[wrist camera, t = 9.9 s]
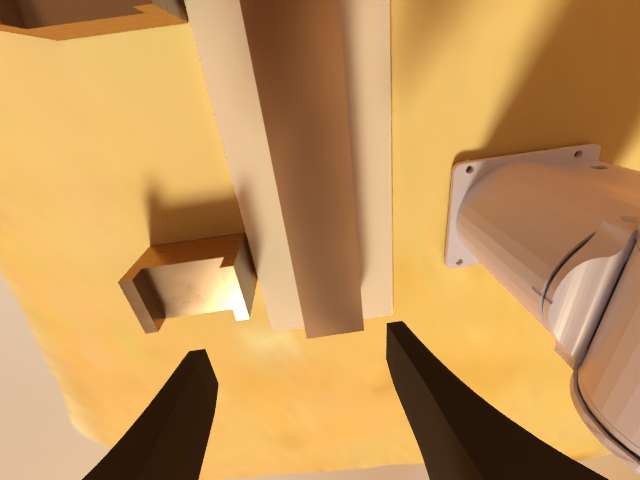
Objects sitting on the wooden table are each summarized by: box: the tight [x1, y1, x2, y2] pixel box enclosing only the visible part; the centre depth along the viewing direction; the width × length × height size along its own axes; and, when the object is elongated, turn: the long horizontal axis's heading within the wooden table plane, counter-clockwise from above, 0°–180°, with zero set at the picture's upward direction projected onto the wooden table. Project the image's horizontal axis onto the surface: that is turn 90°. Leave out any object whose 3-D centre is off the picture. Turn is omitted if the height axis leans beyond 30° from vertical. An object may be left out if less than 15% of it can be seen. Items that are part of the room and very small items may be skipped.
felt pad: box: [184, 0, 393, 332], centre depth 18 cm, size 10×30×1 cm, turn 7°
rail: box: [239, 0, 364, 339], centre depth 16 cm, size 4×26×3 cm, turn 7°
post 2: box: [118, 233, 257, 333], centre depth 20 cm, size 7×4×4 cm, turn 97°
